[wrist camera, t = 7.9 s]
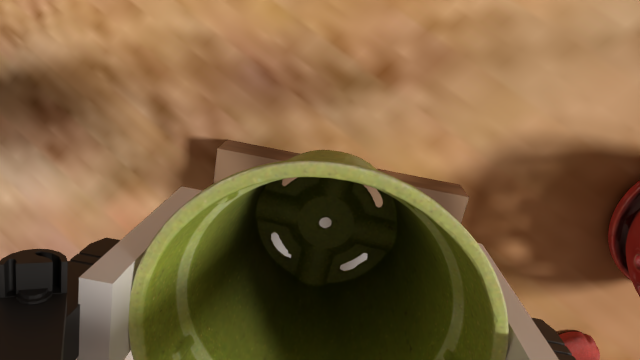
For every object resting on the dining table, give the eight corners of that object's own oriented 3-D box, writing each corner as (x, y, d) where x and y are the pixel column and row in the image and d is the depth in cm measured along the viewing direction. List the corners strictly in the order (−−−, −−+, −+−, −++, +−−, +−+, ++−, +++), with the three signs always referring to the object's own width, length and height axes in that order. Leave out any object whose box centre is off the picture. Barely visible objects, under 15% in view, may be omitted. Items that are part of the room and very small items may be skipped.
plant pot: (360, 59, 18) (372, 76, 9) (480, 247, 20) (577, 399, 11) (175, 186, 20) (49, 294, 11) (301, 345, 22) (273, 536, 13)
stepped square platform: (202, 335, 45) (181, 380, 39) (227, 139, 38) (206, 158, 33) (403, 374, 45) (411, 424, 39) (459, 184, 39) (479, 211, 33)
